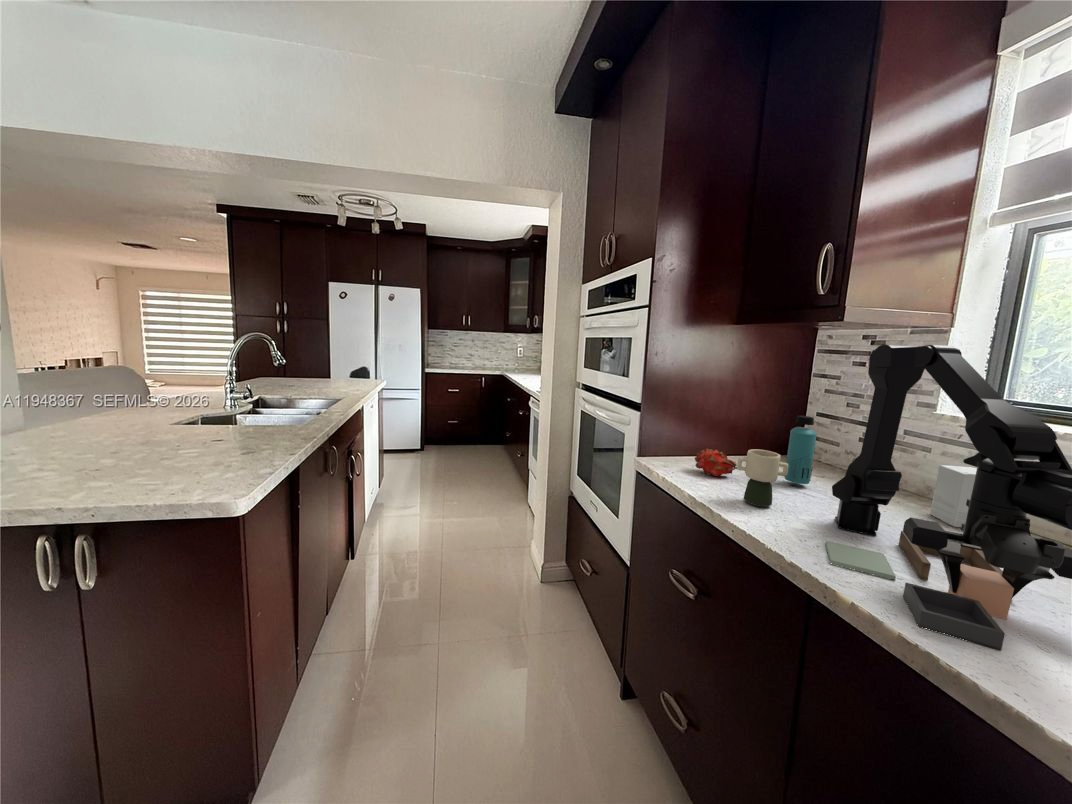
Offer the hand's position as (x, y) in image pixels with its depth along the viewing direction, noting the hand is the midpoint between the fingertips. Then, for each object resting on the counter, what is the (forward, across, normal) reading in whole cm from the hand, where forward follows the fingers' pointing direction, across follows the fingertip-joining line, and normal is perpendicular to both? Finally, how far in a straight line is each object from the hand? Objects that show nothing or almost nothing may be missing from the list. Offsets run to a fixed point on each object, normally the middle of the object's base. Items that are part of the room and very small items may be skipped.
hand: (976, 597), depth 64 cm
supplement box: (+1, +10, +42) cm, 44 cm away
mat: (+1, -14, +6) cm, 15 cm away
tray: (+1, -6, -8) cm, 10 cm away
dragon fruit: (+1, -43, +44) cm, 61 cm away
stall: (+1, 0, +12) cm, 12 cm away
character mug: (+1, -31, +26) cm, 40 cm away
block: (+1, 0, 0) cm, 1 cm away
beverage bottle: (+1, -22, +48) cm, 53 cm away
